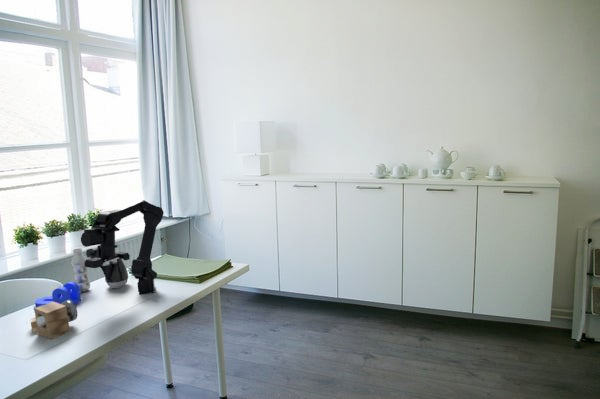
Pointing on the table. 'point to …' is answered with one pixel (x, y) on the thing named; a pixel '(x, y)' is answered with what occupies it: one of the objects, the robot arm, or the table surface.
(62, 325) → the bearing block
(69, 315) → the shaft
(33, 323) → the spacer block
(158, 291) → the table surface
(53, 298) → the bracket
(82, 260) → the plastic bottle
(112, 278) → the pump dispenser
